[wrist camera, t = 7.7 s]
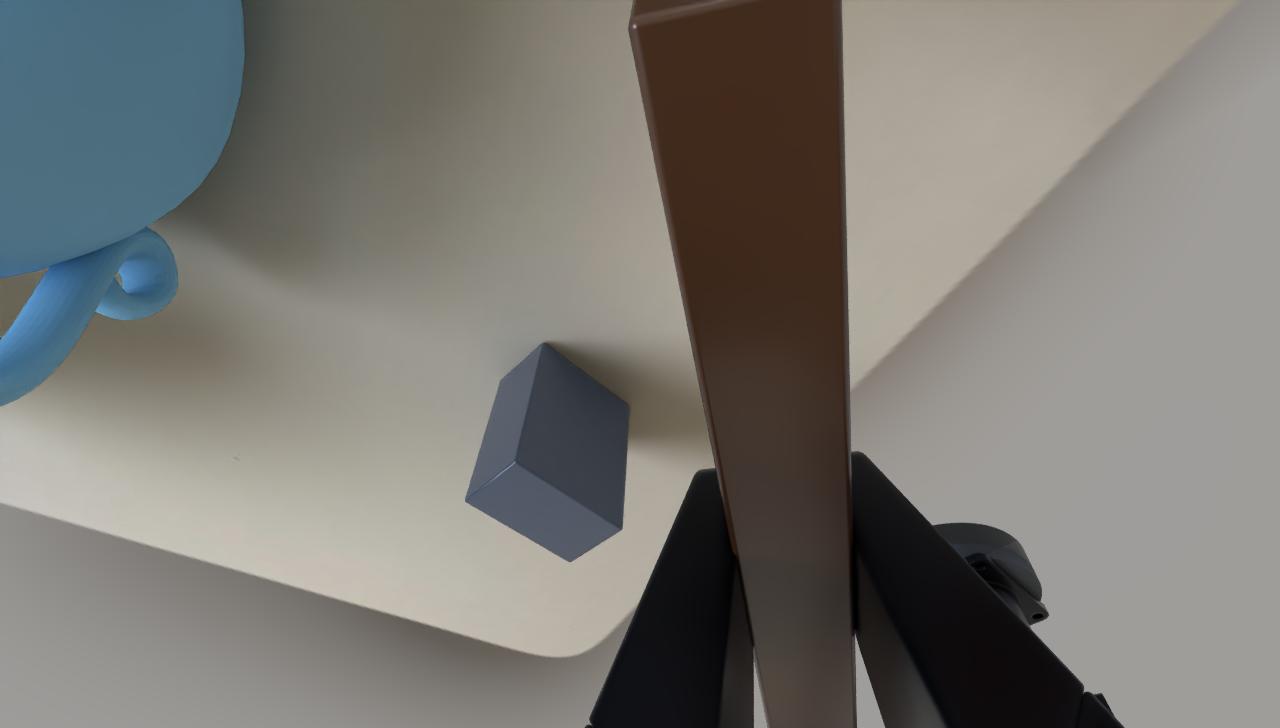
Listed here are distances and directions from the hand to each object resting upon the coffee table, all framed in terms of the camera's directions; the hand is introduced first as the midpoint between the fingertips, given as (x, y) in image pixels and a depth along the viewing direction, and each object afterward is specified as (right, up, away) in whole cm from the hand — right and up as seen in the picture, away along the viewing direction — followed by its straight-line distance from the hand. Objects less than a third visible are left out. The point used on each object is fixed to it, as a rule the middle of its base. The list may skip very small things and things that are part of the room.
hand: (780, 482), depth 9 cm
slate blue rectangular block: (-4, 0, +15) cm, 16 cm away
